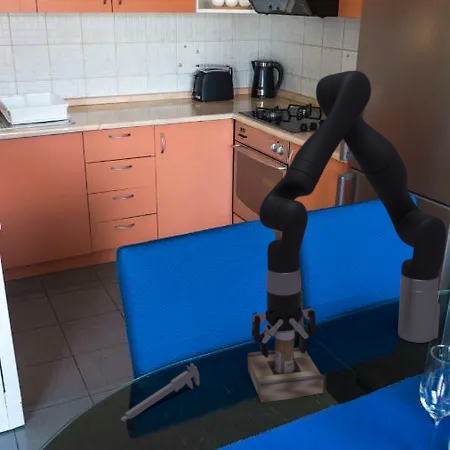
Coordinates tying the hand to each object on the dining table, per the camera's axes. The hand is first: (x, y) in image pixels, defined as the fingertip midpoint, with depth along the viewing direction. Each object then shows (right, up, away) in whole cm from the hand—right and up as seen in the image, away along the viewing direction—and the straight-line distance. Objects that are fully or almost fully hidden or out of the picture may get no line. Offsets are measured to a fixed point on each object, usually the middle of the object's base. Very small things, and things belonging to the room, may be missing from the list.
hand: (284, 354), depth 134 cm
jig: (0, -7, +2) cm, 7 cm away
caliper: (-27, -10, -4) cm, 29 cm away
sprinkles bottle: (0, -7, +2) cm, 7 cm away
